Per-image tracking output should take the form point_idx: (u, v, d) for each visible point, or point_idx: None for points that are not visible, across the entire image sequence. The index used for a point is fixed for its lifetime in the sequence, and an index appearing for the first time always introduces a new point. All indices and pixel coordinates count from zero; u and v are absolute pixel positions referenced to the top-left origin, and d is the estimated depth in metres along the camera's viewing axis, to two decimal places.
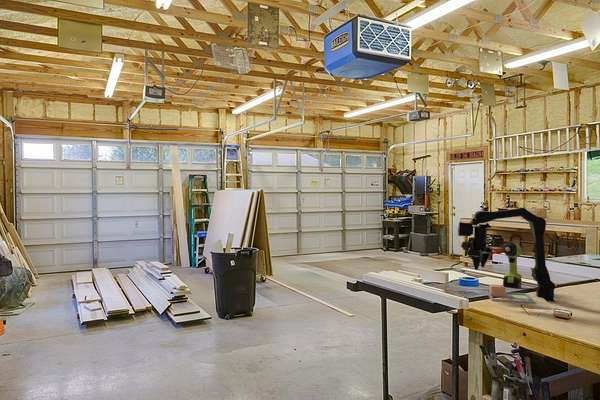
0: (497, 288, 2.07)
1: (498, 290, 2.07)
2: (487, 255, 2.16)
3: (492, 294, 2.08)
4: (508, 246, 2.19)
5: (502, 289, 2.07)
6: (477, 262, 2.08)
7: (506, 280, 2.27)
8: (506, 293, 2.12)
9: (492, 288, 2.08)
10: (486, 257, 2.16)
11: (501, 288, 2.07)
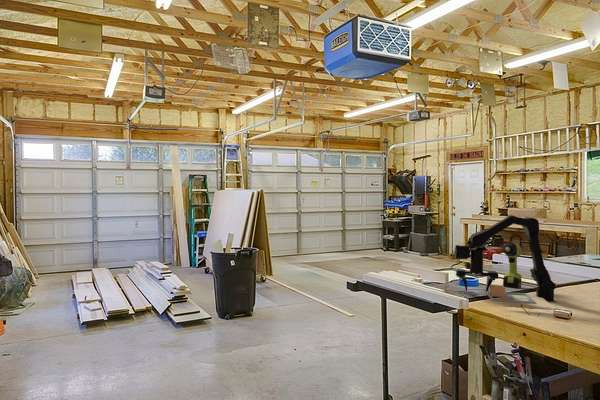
0: (497, 288, 2.07)
1: (498, 290, 2.07)
2: (488, 280, 2.09)
3: (492, 294, 2.08)
4: (508, 246, 2.19)
5: (502, 289, 2.07)
6: (464, 283, 2.12)
7: (506, 280, 2.27)
8: (506, 293, 2.12)
9: (492, 288, 2.08)
10: (487, 282, 2.09)
11: (501, 288, 2.07)
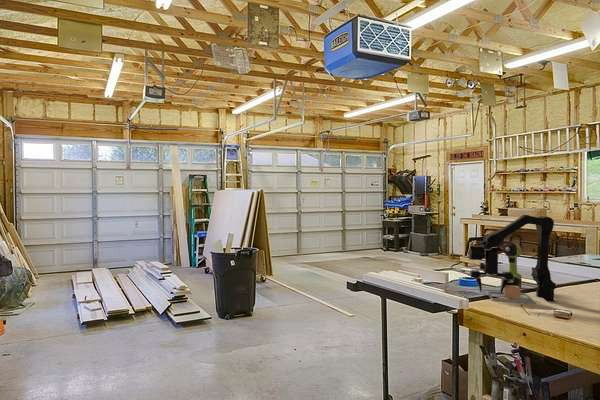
0: (512, 289, 2.05)
1: (513, 291, 2.05)
2: (503, 281, 2.07)
3: (507, 295, 2.06)
4: (508, 246, 2.19)
5: (517, 290, 2.05)
6: (478, 284, 2.11)
7: None
8: None
9: (507, 289, 2.06)
10: (502, 283, 2.07)
11: (516, 289, 2.05)
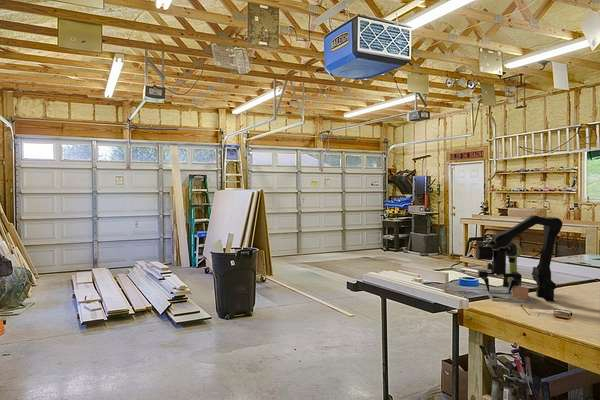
0: (520, 289, 2.05)
1: (521, 292, 2.04)
2: (511, 281, 2.06)
3: (515, 296, 2.05)
4: (508, 246, 2.19)
5: (525, 290, 2.04)
6: (486, 284, 2.10)
7: (506, 280, 2.27)
8: (506, 293, 2.12)
9: (515, 289, 2.05)
10: (510, 283, 2.06)
11: (524, 289, 2.04)
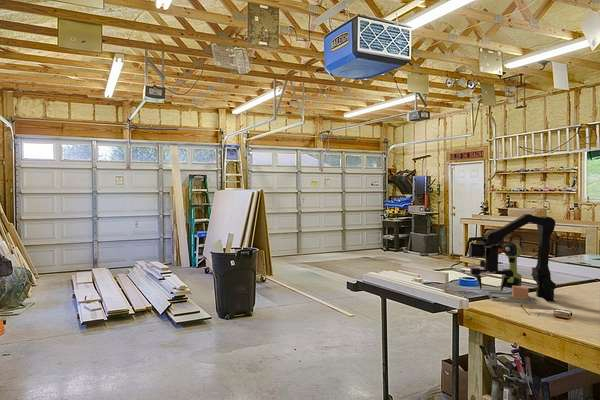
0: (520, 289, 2.05)
1: (521, 292, 2.04)
2: (503, 278, 2.07)
3: (515, 296, 2.05)
4: (508, 246, 2.19)
5: (525, 290, 2.04)
6: (478, 281, 2.11)
7: None
8: (506, 293, 2.12)
9: (515, 289, 2.05)
10: (502, 280, 2.07)
11: (524, 289, 2.04)
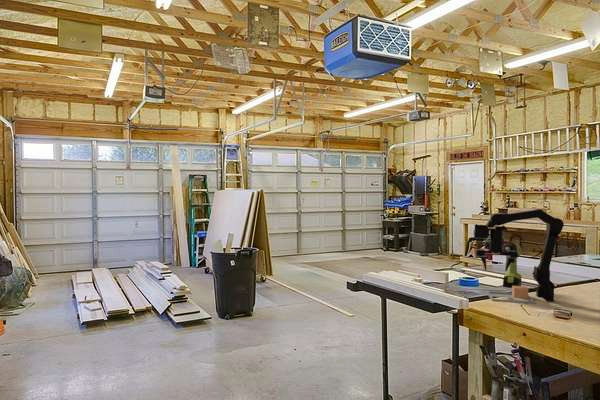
0: (520, 289, 2.05)
1: (521, 292, 2.04)
2: (508, 259, 2.10)
3: (515, 296, 2.05)
4: (508, 246, 2.19)
5: (525, 290, 2.04)
6: (483, 262, 2.14)
7: (506, 280, 2.27)
8: (506, 293, 2.12)
9: (515, 289, 2.05)
10: (507, 261, 2.10)
11: (524, 289, 2.04)
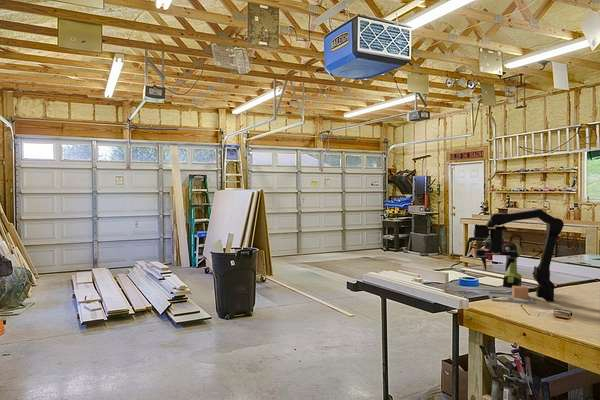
0: (520, 289, 2.05)
1: (521, 292, 2.04)
2: (508, 259, 2.10)
3: (515, 296, 2.05)
4: (508, 246, 2.19)
5: (525, 290, 2.04)
6: (483, 262, 2.14)
7: (506, 280, 2.27)
8: (506, 293, 2.12)
9: (515, 289, 2.05)
10: (507, 261, 2.10)
11: (524, 289, 2.04)
